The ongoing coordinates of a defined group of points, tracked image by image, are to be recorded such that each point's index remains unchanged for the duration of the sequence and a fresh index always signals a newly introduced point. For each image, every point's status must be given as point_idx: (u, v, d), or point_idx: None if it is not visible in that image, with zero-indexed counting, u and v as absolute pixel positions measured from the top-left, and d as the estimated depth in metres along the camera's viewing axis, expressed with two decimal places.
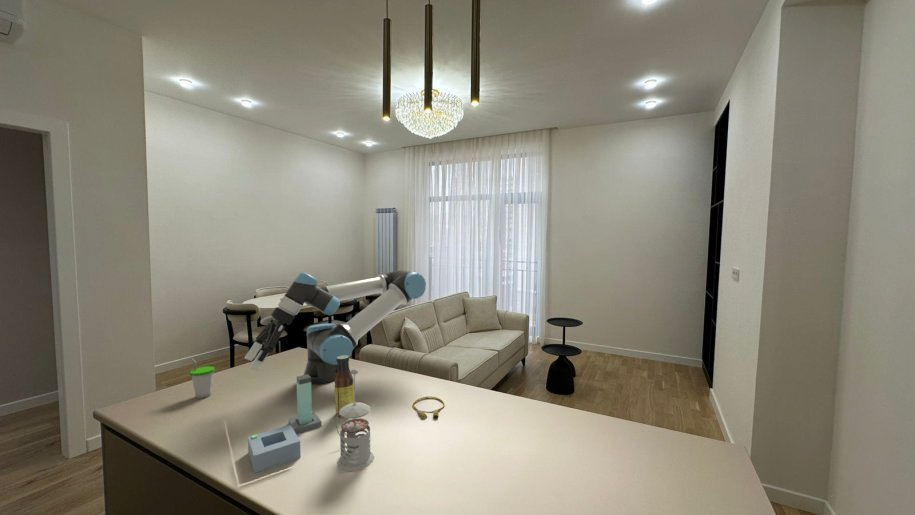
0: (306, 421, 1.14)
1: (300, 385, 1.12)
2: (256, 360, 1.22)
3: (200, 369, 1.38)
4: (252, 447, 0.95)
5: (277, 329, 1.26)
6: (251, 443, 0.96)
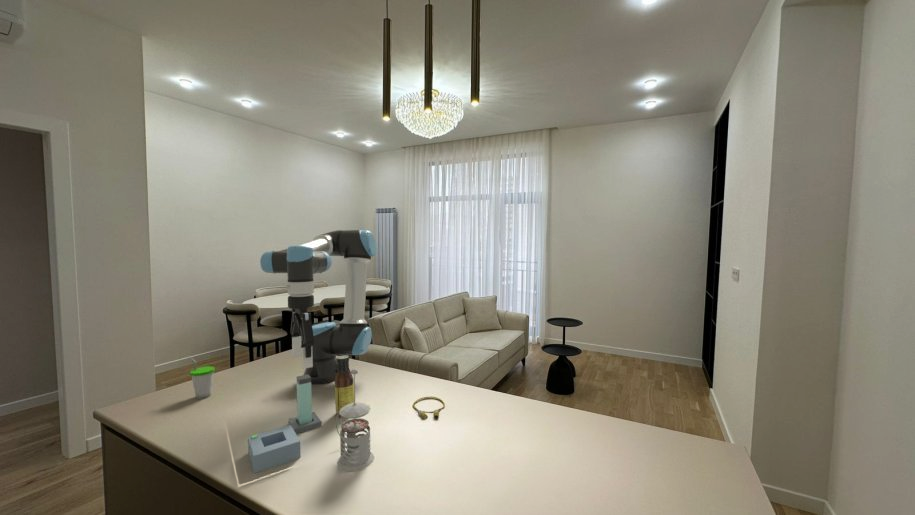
0: (306, 421, 1.14)
1: (300, 385, 1.12)
2: (305, 358, 1.08)
3: (200, 369, 1.38)
4: (252, 447, 0.95)
5: (304, 319, 1.07)
6: (251, 443, 0.96)
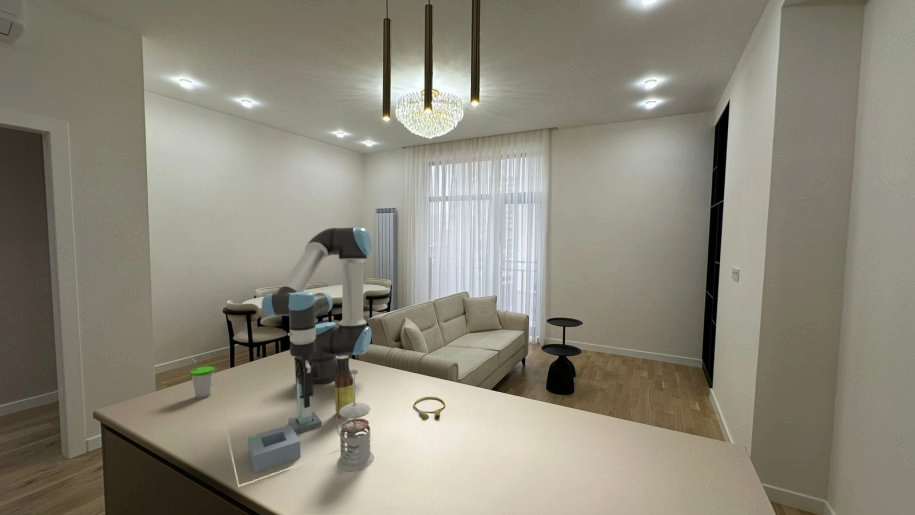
0: (306, 421, 1.14)
1: (300, 385, 1.12)
2: (303, 408, 1.12)
3: (200, 369, 1.38)
4: (252, 447, 0.95)
5: (306, 373, 1.09)
6: (251, 443, 0.96)
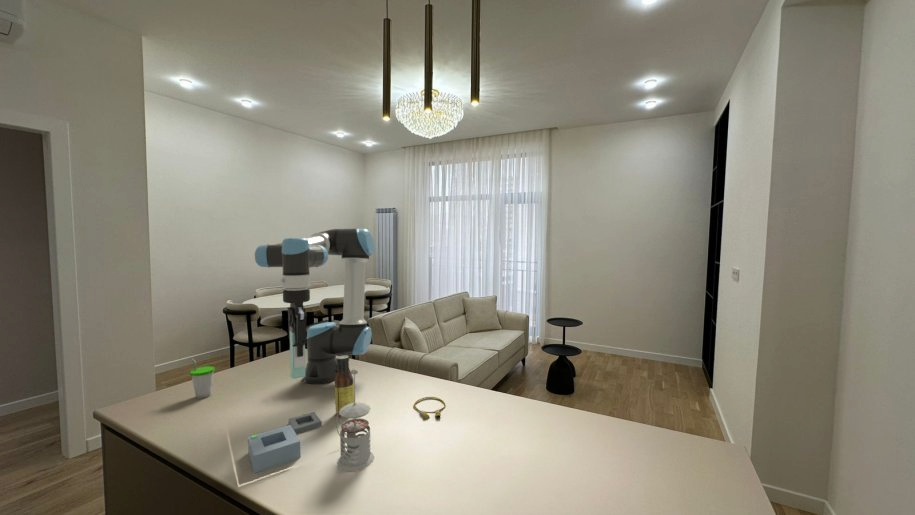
0: (299, 371, 1.09)
1: (293, 333, 1.08)
2: (296, 357, 1.08)
3: (200, 369, 1.38)
4: (252, 447, 0.95)
5: (299, 319, 1.05)
6: (251, 443, 0.96)
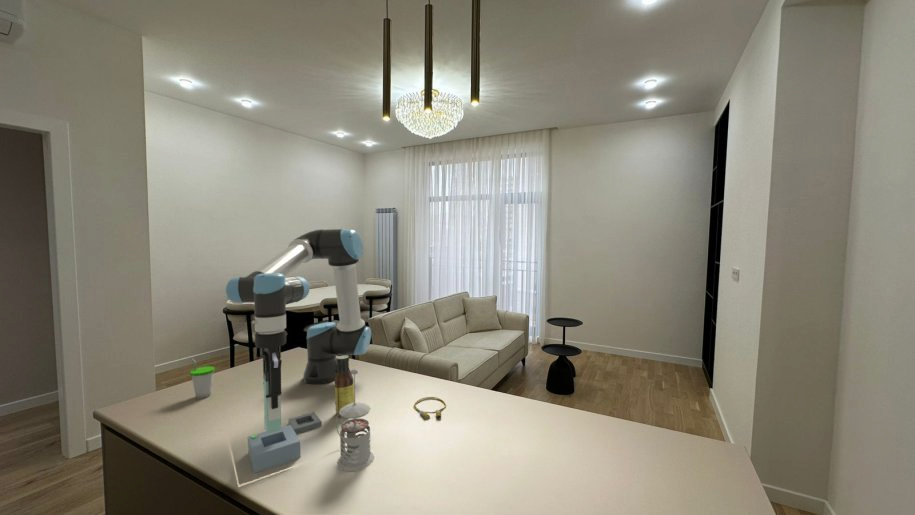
0: (274, 424, 0.97)
1: (266, 382, 0.95)
2: (270, 409, 0.96)
3: (200, 369, 1.38)
4: (252, 447, 0.95)
5: (272, 368, 0.92)
6: (251, 443, 0.96)
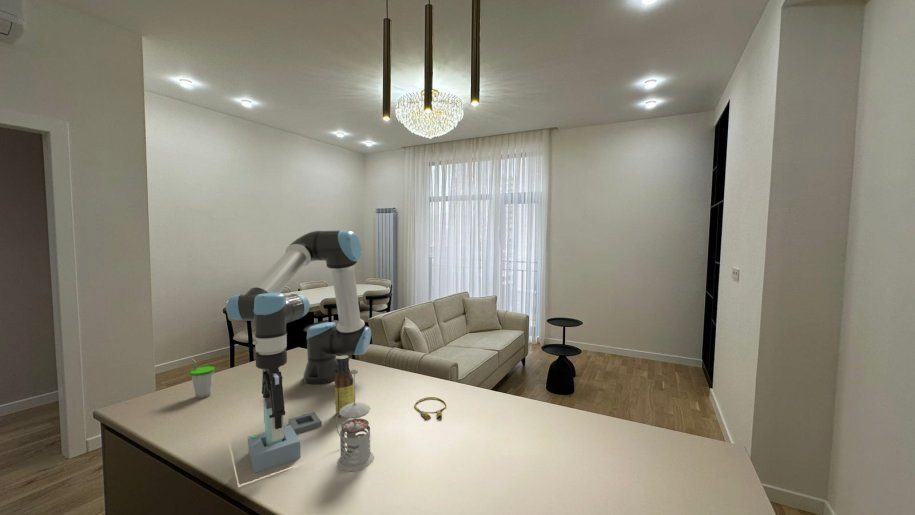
0: None
1: (268, 409, 0.96)
2: (274, 429, 0.93)
3: (200, 369, 1.38)
4: (252, 447, 0.95)
5: (274, 384, 0.92)
6: (251, 443, 0.96)
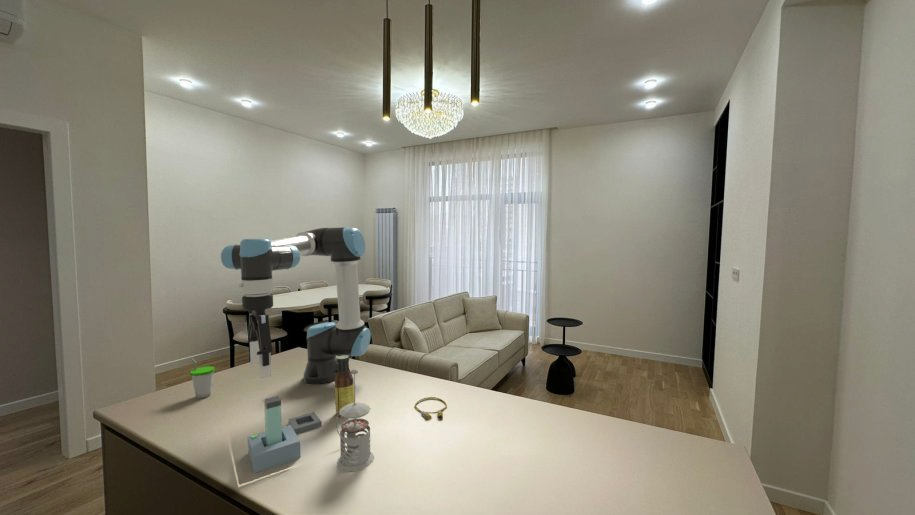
0: None
1: (268, 409, 0.96)
2: (262, 367, 0.95)
3: (200, 369, 1.38)
4: (252, 447, 0.95)
5: (260, 322, 0.94)
6: (251, 443, 0.96)
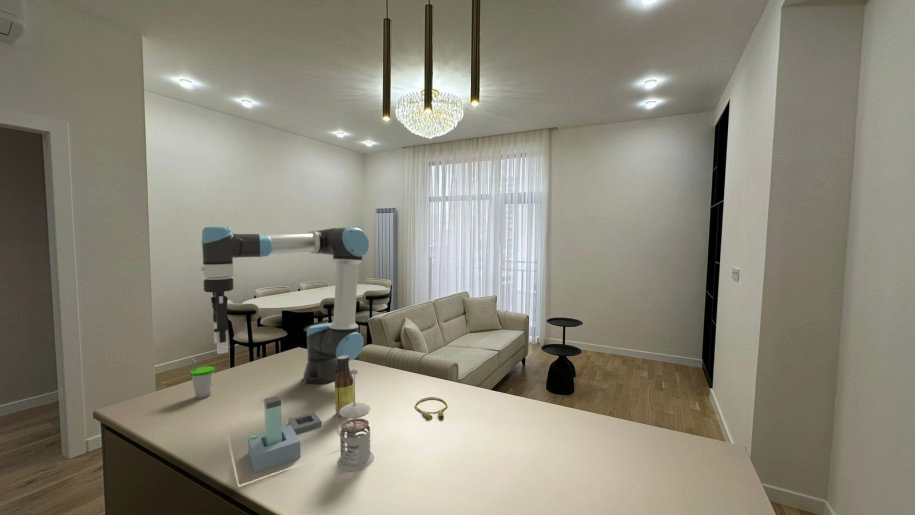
0: None
1: (268, 409, 0.96)
2: (219, 343, 1.04)
3: (200, 369, 1.38)
4: (252, 447, 0.95)
5: (218, 303, 1.03)
6: (251, 443, 0.96)
